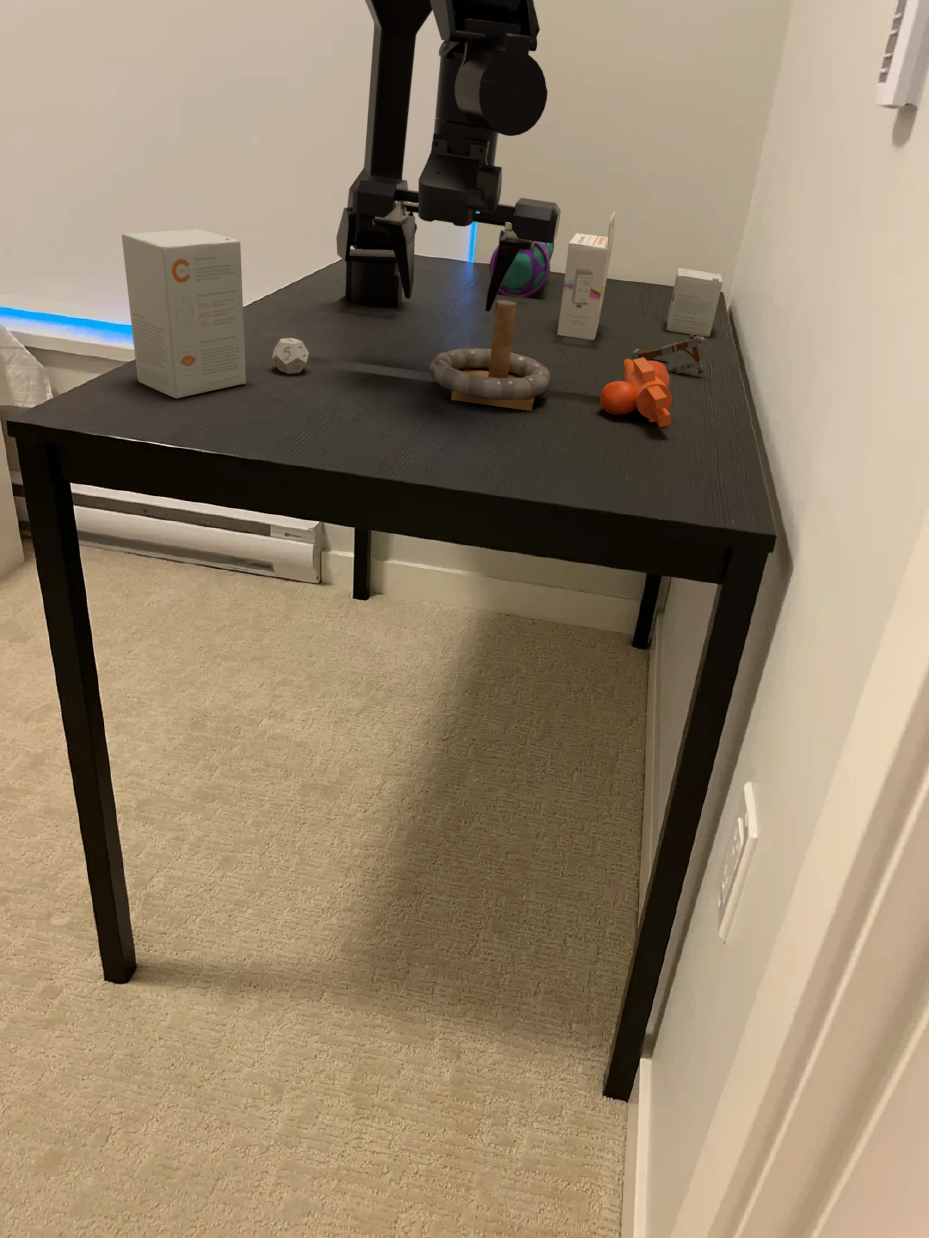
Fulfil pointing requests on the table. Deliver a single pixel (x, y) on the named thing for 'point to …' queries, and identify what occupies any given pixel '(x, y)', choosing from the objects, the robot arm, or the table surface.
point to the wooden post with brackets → (675, 348)
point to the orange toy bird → (640, 391)
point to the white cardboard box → (694, 302)
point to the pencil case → (526, 270)
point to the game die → (290, 355)
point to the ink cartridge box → (585, 284)
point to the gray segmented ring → (488, 387)
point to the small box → (186, 310)
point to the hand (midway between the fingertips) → (448, 304)
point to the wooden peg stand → (499, 358)
